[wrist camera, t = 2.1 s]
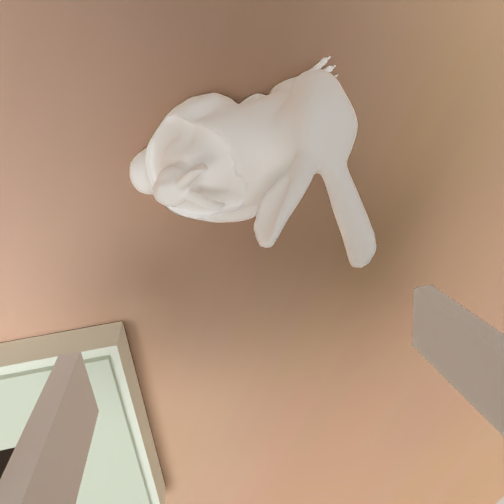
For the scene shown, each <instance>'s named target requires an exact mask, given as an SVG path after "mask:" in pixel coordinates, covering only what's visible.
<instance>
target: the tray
mask: <svg viewBox="0 0 504 504" xmlns="http://www.w3.org/2000/svg"><path fill="white" fill-rule="evenodd" d="M78 351H81V354H82V357H83V361H84V364H85V367H86V370H87V374H88V377H89V380H90V383H91V387H92V390H93V393H94V396H95V400H96V403H97V406H98V409H99V413H98V417H97V421H96V425H95V429H94V433H93V437H92V441H91V445H90V449H89V453H88V457H87V461H86V465H85V469H84V473H83V477H82V481H81V485H80V489H79V493H78V497H77V501H76V504H165V483H164V479H163V475H162V471H161V467H160V463H159V460H158V456H157V452H156V448H155V444H154V440H153V437H152V433H151V429H150V425H149V421H148V417H147V413H146V410H145V406H144V402H143V398H142V394H141V390H140V387H139V383H138V379H137V375H136V371H135V367H134V364H133V360H132V356H131V352H130V348H129V344H128V341H127V337H126V333H125V329H124V325H123V321H120V322H114V323H109V324H103V325H98V326H92V327H87V328H81V329H76V330H70V331H64V332H59V333H53V334H48V335H42V336H37V337H31V338H26V339H20V340H15V341H9V342H4V343H0V451H1V450H5V449H10V448H14V447H16V445H17V443H18V440H19V438H20V436H21V434H22V432H23V430H24V428H25V426H26V423H27V421H28V419H29V417H30V415H31V413H32V411H33V409H34V406H35V404H36V402H37V400H38V398H39V396H40V394H41V392H42V390H43V387H44V385H45V383H46V381H47V379H48V377H49V375H50V373H51V370H52V368H53V366H54V364H55V362H56V360H57V358H58V356H59V355H63V354H68V353H73V352H78Z"/></svg>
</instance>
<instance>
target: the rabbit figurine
mask: <svg viewBox="0 0 504 504" xmlns="http://www.w3.org/2000/svg"><path fill="white" fill-rule="evenodd" d="M330 57H331V56H328V57H326V58H325V57H323V58H322V59H321V60H320V61H319V62H318V63H317V64H316V65H315V66H314V67H312V68H311V69H309V70H308V71H305V72H303V73H302V74H300V75H299V76H297V77H294V78H290V79H287V80H285V81H283V82H281V83H279V84H277V85H276V86H275V87H274V88H273V89H272V90H271V91H270V94H269V95H266V96H265V95H263V94H258V93H257V94H254V95H251V96H249V97H248V98H246V99H245V100H243V101H242V102H241V103H239V104H238V103H236V102H235V101H233V100H232V99H231V98H229V97H227V96H224V95H221V94H219V93H209V94H203V95H199V96H194V97H191V98H188V99H187V100H186V101H184V102H183V103H181V104H179V105H177V106H176V107H174V108H173V109H172V110H171V111H170V112H169V113H168V114H167V115H166V117H165V118H164V119H163V121H162V122H161V124H160V125H159V127H158V128H157V130H156V131H155V133H154V134H153V136H152V138H151V140H150V141H149V143H148V146H147V148H146V149H143V150H142V151H140V152H139V153H138V154H137V155H136V156H135V157H134V158H133V160H132V162H131V164H130V169H129V174H130V180H131V182H132V184H133V186H134V187H135V188H136V189H137V190H138V191H139V192H141V193H143V194H149V195H154V198H155V200H156V201H157V202H159V203H160V204H163V205H164V206H166V207H167V208H168V209H169V210H171V211H172V212H174V213H175V214H177V215H180V216H183V217H187V218H192V219H198V220H202V221H207V222H214V223H221V222H239V221H245V220H248V219H251V218H253V217H254V216H256V220H255V223H254V229H253V230H254V232H255V235H256V239H257V241H258V242H259V246H261V247H265V248H269V247H272V246H273V244H274V243H275V241H276V240H277V238H278V236H279V235H280V233H281V231H282V229H283V228H284V226H285V224H286V222H287V220H288V219H289V217H290V216H291V214H292V213H293V211H294V210H295V208H296V207H297V205H298V204H299V202H300V201H301V199H302V197H303V195H304V194H305V192H306V190H307V188H308V186H309V185H310V183H311V181H312V178H313V176H314V174H320V175H321V176H322V178H323V180H324V183H325V186H326V189H327V192H328V195H329V199H330V202H331V206H332V209H333V213H334V215H335V218H336V221H337V224H338V227H339V229H340V232H341V235H342V238H343V242H344V245H345V249H346V253H347V256H348V260H349V263H350V265H351V266H352V267H358V268H362V267H363V266H365V265H366V264H368V263H370V261H371V259H372V257H373V255H374V254H375V252H376V247H377V246H376V242H375V233H374V231H373V228H372V226H371V224H370V220H369V218H368V216H367V213H366V210H365V208H364V206H363V203H362V201H361V198H360V196H359V193H358V191H357V189H356V186H355V184H354V182H353V180H352V178H351V175H350V173H349V170H348V167H347V160H348V157H349V155H350V153H351V150H352V148H353V145H354V141H355V139H356V135H357V130H358V121H357V117H356V113H355V110H354V108H353V106H352V104H351V102H350V101H349V99H348V97H347V95H346V93H345V92H344V90H343V88H342V86H341V85H340V83H339V81H338V80H337V79H336V77H337V76H338V74H337V75H335V76H334V75H332V74H331V73H330V72H332V71H333V69H334V68H335V67H336V65H333V66H327V67H326V68H325V69H321V68H322V67H323V66H324V65H325V64H326V63H327V61H328V60H329V59H330Z"/></svg>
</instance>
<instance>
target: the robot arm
mask: <svg viewBox="0 0 504 504" xmlns="http://www.w3.org/2000/svg"><path fill="white" fill-rule="evenodd" d="M412 346H413V347H414V348H415V349H416V350H417V351H418V352H419V353H420V354H421V355H422V356H423V357H424V358H425V359H426V360H427V361H428V362H429V363H430V364H431V365H432V366H433V367H434V368H435V369H436V370H437V371H438V372H439V373H440V374H441V375H442V376H443V377H444V378H445V379H446V380H447V381H448V382H449V383H450V384H451V385H452V386H453V387H454V388H455V389H456V390H457V391H458V392H459V393H460V394H461V395H462V396H463V397H464V398H465V399H466V400H467V401H468V402H469V403H470V404H471V405H472V406H473V407H474V408H475V409H476V410H477V411H478V412H479V413H480V414H481V415H482V416H483V417H484V418H485V419H486V420H487V421H488V422H489V423H490V424H491V425H492V426H493V427H494V428H495V429H496V430H497V431H498V432H499V433H500V434H501V435H502V436H503V437H504V334H503V333H501V332H500V331H498V330H497V329H495V328H494V327H493V326H491V325H490V324H488V323H487V322H485V321H484V320H482V319H481V318H479V317H478V316H476V315H475V314H474V313H472V312H471V311H469V310H468V309H466V308H465V307H463V306H462V305H460V304H459V303H457V302H456V301H455V300H453V299H452V298H450V297H449V296H447V295H446V294H444V293H443V292H441V291H440V290H438V289H437V288H435V287H434V286H433V285H427V286H422V287H416V288H414V302H413V327H412ZM98 413H99V409H98V406H97V403H96V400H95V396H94V393H93V390H92V387H91V383H90V380H89V377H88V374H87V370H86V367H85V364H84V361H83V357H82V354H81V351H78V352H73V353H68V354H63V355H59V356H58V358H57V360H56V362H55V364H54V366H53V368H52V370H51V373H50V375H49V377H48V379H47V381H46V383H45V385H44V387H43V390H42V392H41V394H40V396H39V398H38V400H37V402H36V404H35V406H34V409H33V411H32V413H31V415H30V417H29V419H28V421H27V423H26V426H25V428H24V430H23V432H22V434H21V436H20V438H19V440H18V443H17V445H16V447H14V448H10V449H5V450H1V451H0V504H76V501H77V497H78V493H79V489H80V485H81V481H82V477H83V473H84V469H85V465H86V461H87V457H88V453H89V449H90V445H91V441H92V437H93V433H94V429H95V425H96V421H97V417H98Z"/></svg>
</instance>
